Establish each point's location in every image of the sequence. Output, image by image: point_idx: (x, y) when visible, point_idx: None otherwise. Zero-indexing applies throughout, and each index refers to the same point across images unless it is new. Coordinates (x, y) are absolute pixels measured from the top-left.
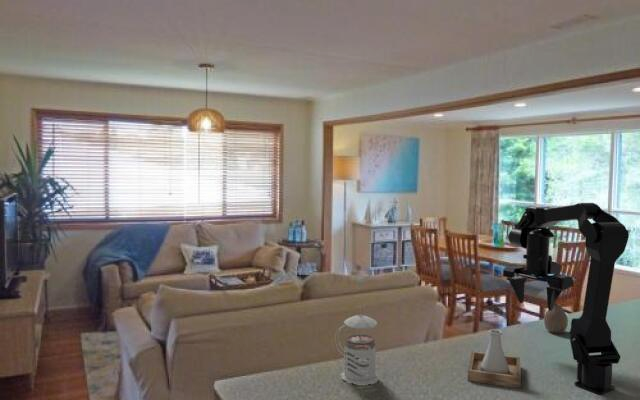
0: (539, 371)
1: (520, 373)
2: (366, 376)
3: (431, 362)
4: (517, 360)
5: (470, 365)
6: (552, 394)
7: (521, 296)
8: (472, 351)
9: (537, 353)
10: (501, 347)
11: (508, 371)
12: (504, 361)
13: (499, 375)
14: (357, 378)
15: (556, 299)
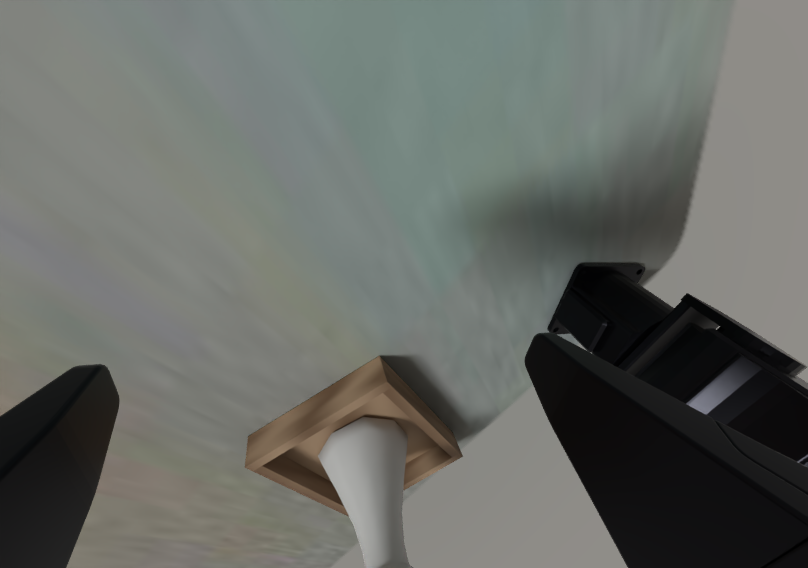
0: (442, 333)
1: (450, 444)
2: None
3: (202, 516)
4: (398, 402)
5: (335, 506)
6: (515, 400)
7: (58, 500)
8: (248, 466)
9: (339, 181)
10: (398, 510)
11: (402, 431)
12: (404, 470)
13: (418, 479)
14: None
15: (702, 427)
